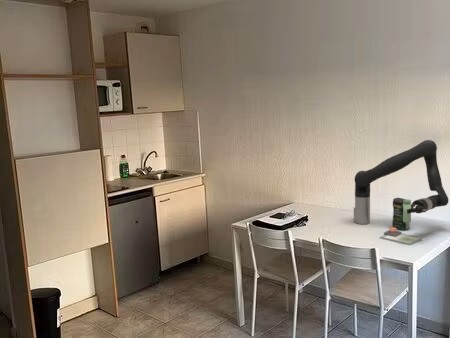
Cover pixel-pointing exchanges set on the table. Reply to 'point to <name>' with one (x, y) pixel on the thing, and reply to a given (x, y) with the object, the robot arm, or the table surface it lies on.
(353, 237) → the table surface
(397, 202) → the coffee jar
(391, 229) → the button
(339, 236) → the table surface
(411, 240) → the board
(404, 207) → the marker
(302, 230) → the table surface
